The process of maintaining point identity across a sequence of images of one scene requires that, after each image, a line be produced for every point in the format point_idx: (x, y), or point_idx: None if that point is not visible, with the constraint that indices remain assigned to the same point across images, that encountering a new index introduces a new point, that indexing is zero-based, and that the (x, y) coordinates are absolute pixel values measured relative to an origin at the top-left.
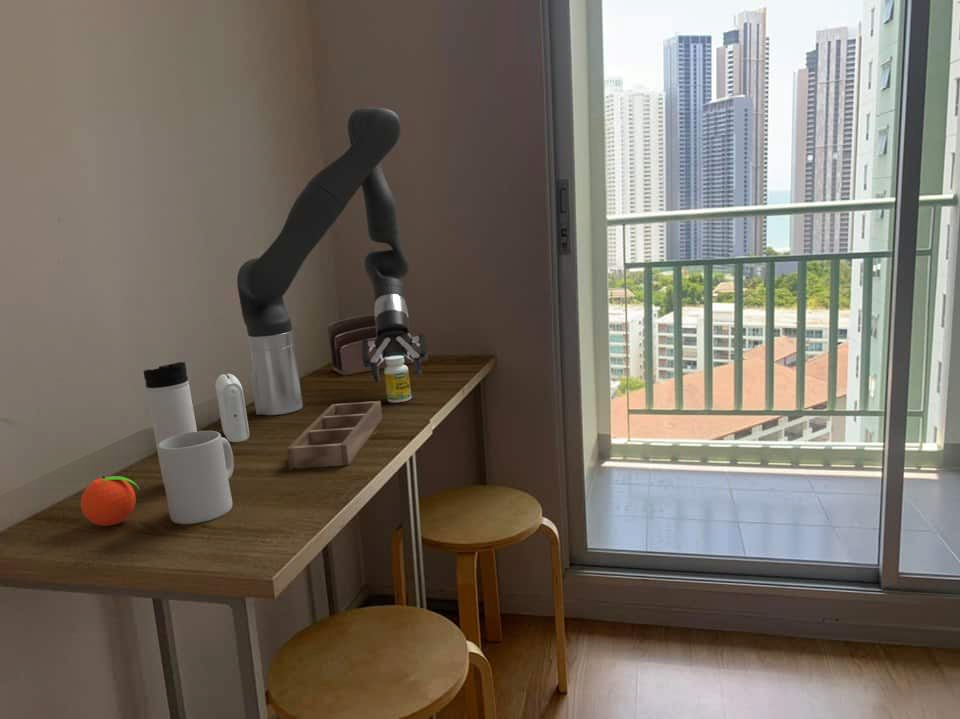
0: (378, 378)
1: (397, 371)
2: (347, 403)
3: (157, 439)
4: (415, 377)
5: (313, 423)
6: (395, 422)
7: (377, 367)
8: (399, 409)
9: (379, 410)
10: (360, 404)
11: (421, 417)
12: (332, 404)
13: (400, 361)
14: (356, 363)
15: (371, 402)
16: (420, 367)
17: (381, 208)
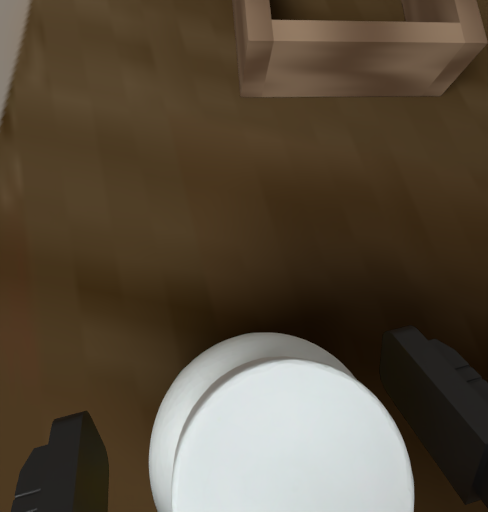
0: (382, 340)
1: (227, 342)
2: (411, 37)
3: None
4: (101, 446)
5: None
6: (165, 27)
7: (445, 396)
8: (193, 216)
9: (241, 29)
10: (340, 23)
11: (60, 68)
12: (482, 39)
13: (200, 399)
14: None
15: (289, 26)
16: (15, 493)
17: None
